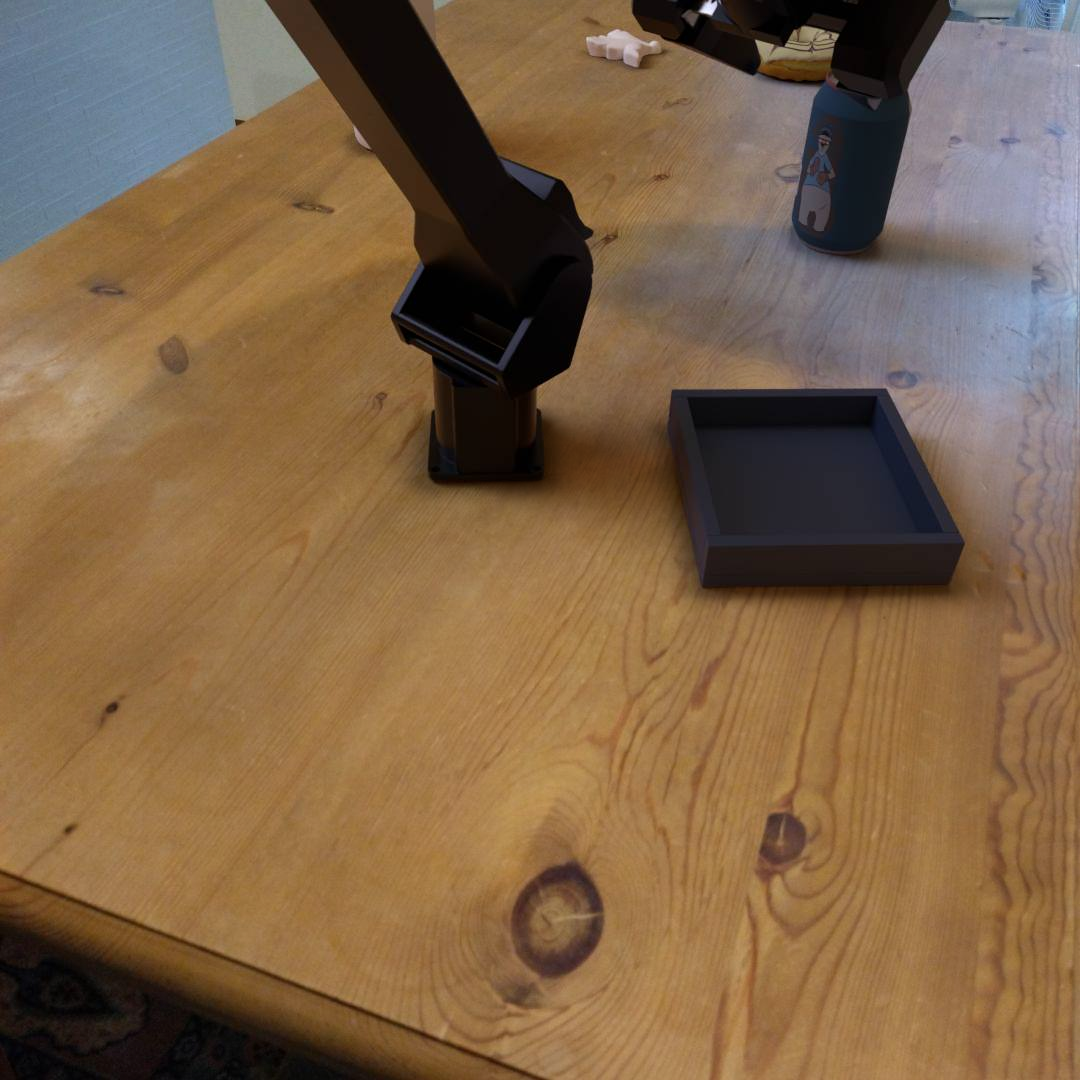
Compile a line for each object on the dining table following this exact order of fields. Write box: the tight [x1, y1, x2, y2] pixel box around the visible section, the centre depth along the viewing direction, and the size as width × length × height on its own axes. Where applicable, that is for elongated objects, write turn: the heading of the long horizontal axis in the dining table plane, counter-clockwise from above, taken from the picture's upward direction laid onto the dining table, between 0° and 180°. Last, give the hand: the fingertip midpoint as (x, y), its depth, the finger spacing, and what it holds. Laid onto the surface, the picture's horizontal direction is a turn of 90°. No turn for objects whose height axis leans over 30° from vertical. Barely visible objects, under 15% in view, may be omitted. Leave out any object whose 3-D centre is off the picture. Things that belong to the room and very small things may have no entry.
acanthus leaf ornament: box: [585, 28, 662, 68], centre depth 115 cm, size 8×7×2 cm
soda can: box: [791, 70, 913, 256], centre depth 78 cm, size 7×7×12 cm
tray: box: [666, 387, 966, 588], centre depth 57 cm, size 14×13×3 cm
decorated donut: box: [755, 25, 839, 82], centre depth 111 cm, size 10×11×4 cm
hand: (814, 85), depth 70 cm, fingers open, 9 cm apart
